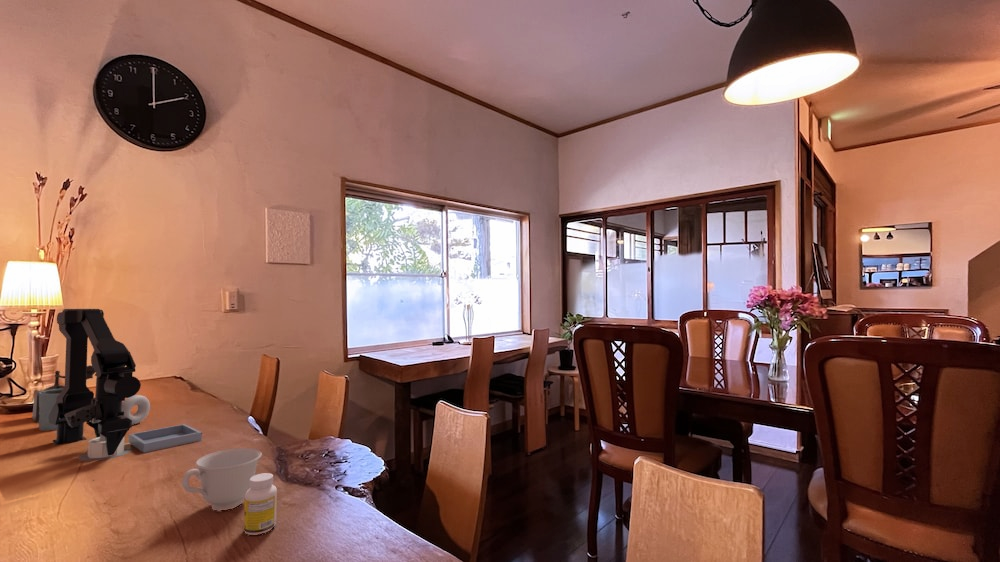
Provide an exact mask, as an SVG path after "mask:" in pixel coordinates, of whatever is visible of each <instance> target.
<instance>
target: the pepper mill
mask: <svg viewBox="0 0 1000 562" xmlns="http://www.w3.org/2000/svg"><path fill="white" fill-rule="evenodd" d="M60 372H61V371H60V370H55V372H54V373H55V374H54V377H55V382H54V384H53V385H52V386H48V387H46V388H45V389H42V390H35V391H34V394H33V395H34V396H33V405H32V407H33V408H32V415H31V416H32V420H33V419H34V420H33V421H35V422H34V423H39V417H40V415H39V411H40V410H39V409H40V408H39V392H41V391H45V390H51V389H61V388H64V387H65V385H61V384H59V383H60V382H59V379H60V378H61V379H65V375H60V374H61V373H60ZM95 374H96V372H95V370H94V368H93V366H92V364H91V365H87V376H86V381H87V380H89V379H93V378H94V375H95Z"/></svg>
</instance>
